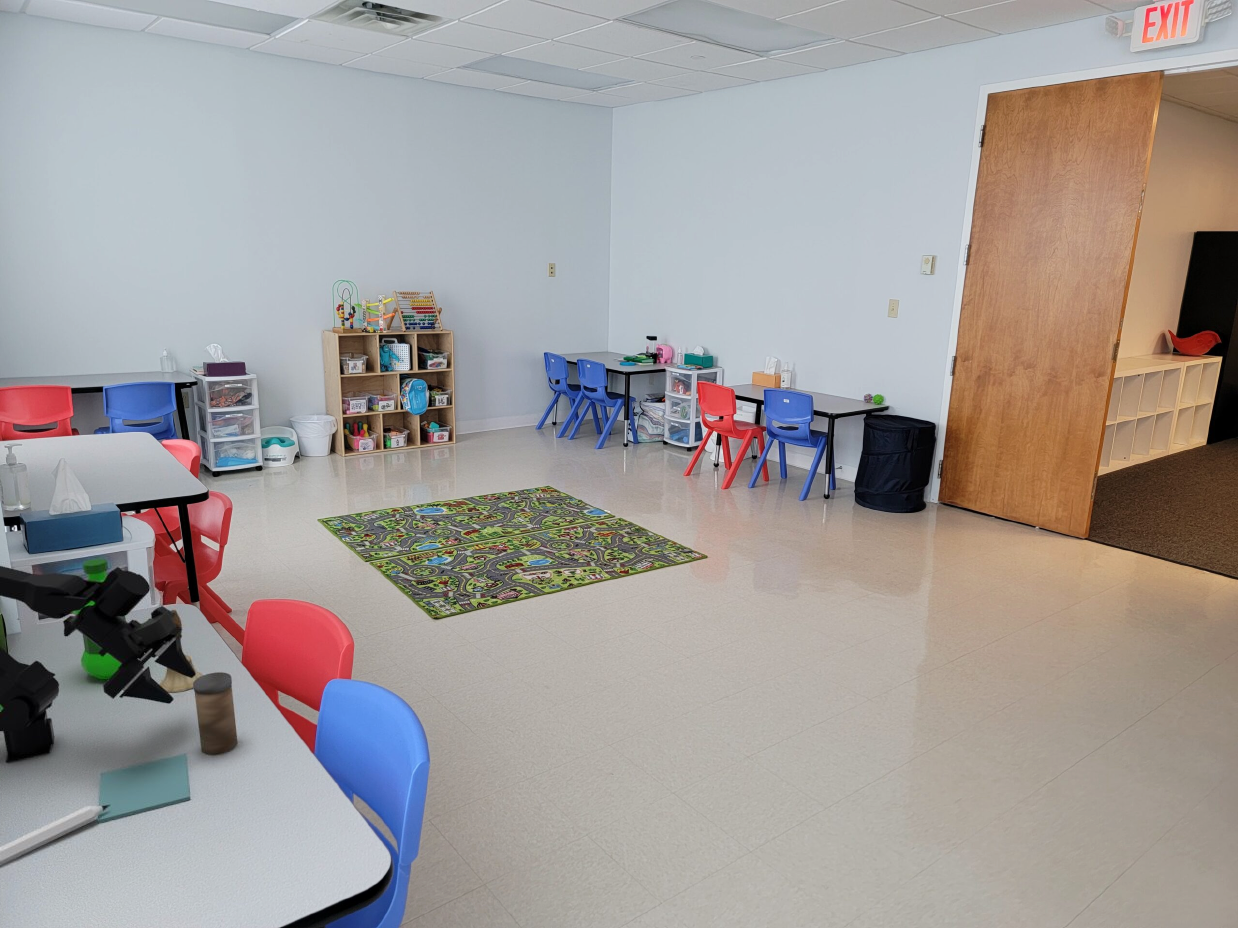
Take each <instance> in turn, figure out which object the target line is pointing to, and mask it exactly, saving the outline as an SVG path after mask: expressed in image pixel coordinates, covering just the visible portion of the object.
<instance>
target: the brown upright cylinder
mask: <svg viewBox="0 0 1238 928" xmlns="http://www.w3.org/2000/svg"><path fill="white" fill-rule="evenodd" d="M202 675H203V674H202ZM232 683H233V678H232V675H231V674H230V673H227V672H222V671H219V672H217V671H216V672H211V673H206V674H204V675H203V676H201V677H199V678H197V679H196V680H195V681H194V682H193V688H192V689H193V691H194V698H195V706H196V707H195V708H196V715H197V723H198V732H199V740H200V741H199V742H200V749H201V752H202V753H203V754H204V755H208V756H218V755H222V754H226V753H229V752H230V751H233V750H234V749H235V748H236V747H237V746H238V734H237V733H238V732H237V725H236V723H237V722H236V714H235V706H234V697H233V696H234V695H233V688H232V686H233V685H232Z"/></svg>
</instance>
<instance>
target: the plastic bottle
mask: <svg viewBox="0 0 1238 928" xmlns="http://www.w3.org/2000/svg"><path fill="white" fill-rule="evenodd" d="M82 567H83V573H84V574H85V575H86V576H87V580H91V581H100V582H103V581H104V580H105V579H106V577H107V571H108V570H109V564H108V560H107V559H106V558H95V559H90V560H86V561H84V562H83V563H82ZM94 604H95V603H94V602H93V601H91V602H90V603H88V604H87V605H86V606H89V605H94ZM84 607H85V606H84ZM80 610H81V609H80ZM80 610H76V611H73V612H72V613H73V615H74V616H75V615H76V614H77V613H78V612H79V611H80ZM120 617H121V618H123V619H124V620H125V621H126V622H127V620H126V616H120ZM82 640H83V645H84V651H83V653H82V655H81V659H80V662H81V667H82V668H83V669H84V671H86V672H87V673H88V675H90V676H92V677H94V678H97V679H98V680H103V679H109V678H110V677H111V676H112V675H113V674H114V673H115V672H116V671H117V670H118V667H119V666H120V665H121V663H120V662H118V661H117V660H116V659H114V658H113V657H112V656H110V655H109V654H108V653H107V654H106V655H104V656H103V657H102V656H101V655H100V654H98V653H99V652H100V651H101V650H102V649H101V648H100V647H99V646H97V645H96V644H95V643H93V642H92V641H91V640H90V639H88V638H87V637H86V636H84V635H83V634H82Z"/></svg>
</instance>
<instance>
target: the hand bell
mask: <svg viewBox="0 0 1238 928" xmlns="http://www.w3.org/2000/svg"><path fill="white" fill-rule="evenodd" d="M170 611H171V613H174V614H175V617H174V619H173V622H174V623H175V624H176V625H177V626H179V627H180V628H181V629H182V630H181V631H180V632H179V633H178V635H177V636H176V637H175V638H177V637H178V636H179V635H180V634H181V635H182V631H183V624H182V620H181V618H180V616H179V614H178V612H177V610H176V609H171V610H170ZM181 649H182V650H183V646H182V645H181ZM184 655H185V657H186V658H187V660H188V661H189V663H190V665H191V666H192V668H193V669H194V671H195V672H196V675H195V676H194V677H193V678H190V677H187V676H184V675H182V674H180V673H178V672H176V671H173V670H171V669H169V668H167V667H166V672H165V676H164V678H163V679H162V680H161V681H160V683H159V685H160V686H161V687H162V688H164V689H165V690H166V691H167V692H168V693H179V692H180V693H181V692H185V691H188V690H192V689H194V688H193V682H194V681H195V680H196V679H197V678H199V677H201V676H203V674H202V673H201V672H200V671H197V669H196V668H195V667H194V664H193V660H192V657H191V656H190V655H188V654H184Z"/></svg>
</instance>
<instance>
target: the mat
mask: <svg viewBox="0 0 1238 928" xmlns="http://www.w3.org/2000/svg"><path fill="white" fill-rule="evenodd" d="M187 761H188V759H187V753H182V754H177V755H174V756H169V757H165V758H160V759H156V760H152V761H148V762H144V763H138V764H135V765H130V766H127V767H122V768H117V769H113V770H110V771H109V770H108V771H106V772H102V773H100V781H99V795H98V806H105V805H110V804H111V805H110V806H109V807H108V808H106V809H105V810H104V811H102V812H101V813H100V814H99V815H98V816H97V823H98V824H102V823H105V822H108V821H113V820H117V819H120V818H124V817H128V816H129V817H130V816H132V815H136V814H137V815H138V814H141V813H145V812H148V811H151V810H156V809H160V808H163V807H168V806H171V805H175V804H179V803H183V802H187V801H190V800H191V794H190V793H191V792H190V781H189V773H188V763H187Z"/></svg>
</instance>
